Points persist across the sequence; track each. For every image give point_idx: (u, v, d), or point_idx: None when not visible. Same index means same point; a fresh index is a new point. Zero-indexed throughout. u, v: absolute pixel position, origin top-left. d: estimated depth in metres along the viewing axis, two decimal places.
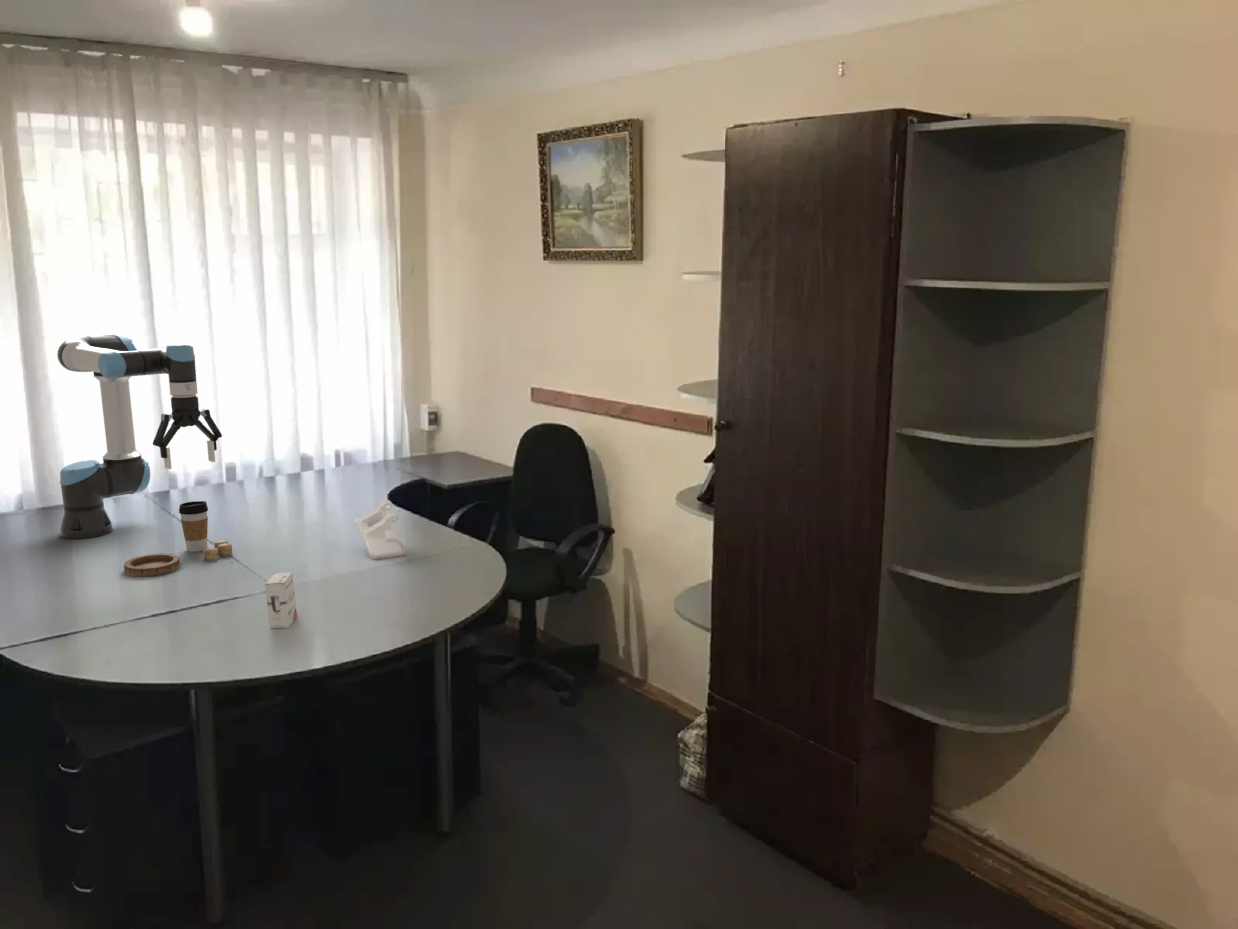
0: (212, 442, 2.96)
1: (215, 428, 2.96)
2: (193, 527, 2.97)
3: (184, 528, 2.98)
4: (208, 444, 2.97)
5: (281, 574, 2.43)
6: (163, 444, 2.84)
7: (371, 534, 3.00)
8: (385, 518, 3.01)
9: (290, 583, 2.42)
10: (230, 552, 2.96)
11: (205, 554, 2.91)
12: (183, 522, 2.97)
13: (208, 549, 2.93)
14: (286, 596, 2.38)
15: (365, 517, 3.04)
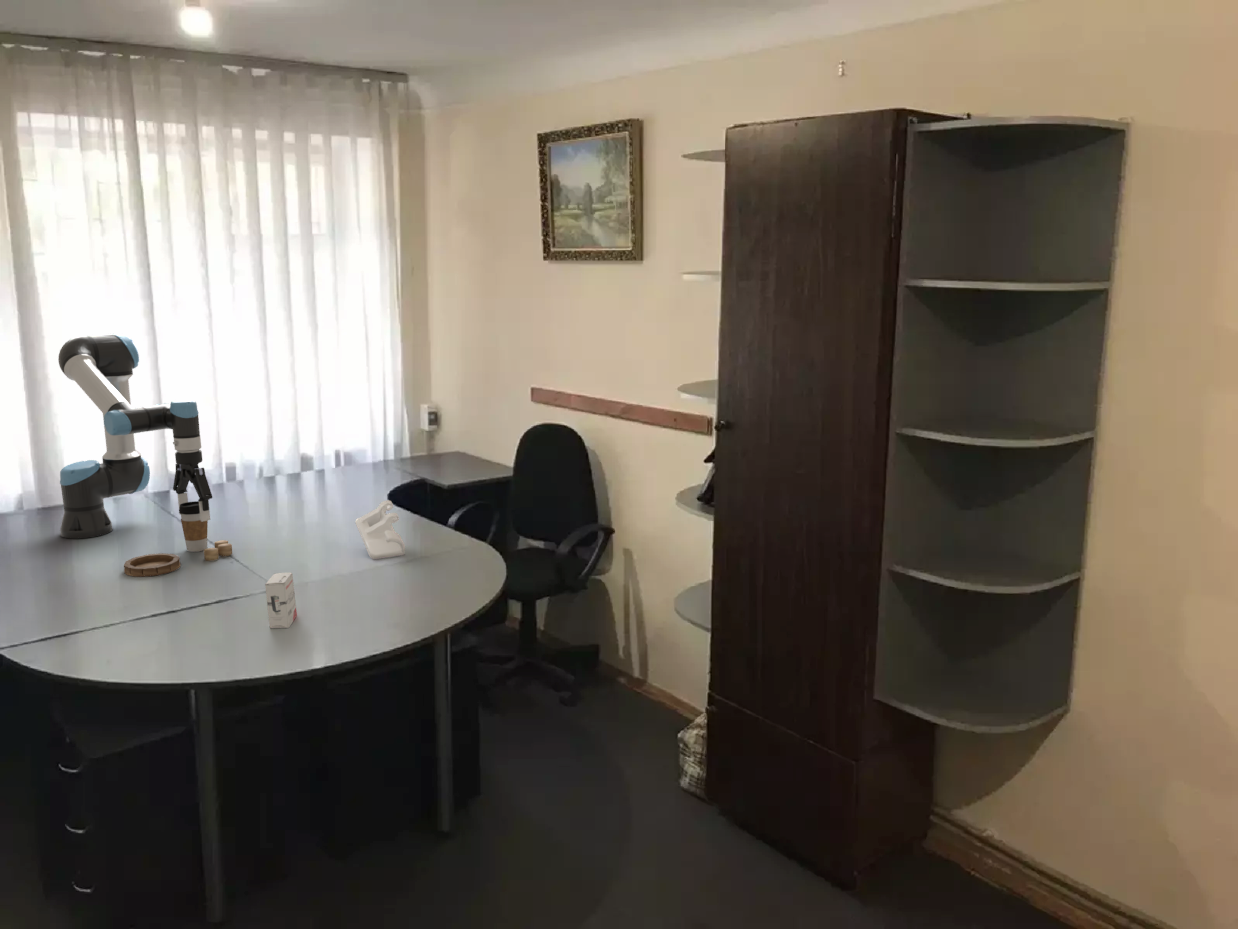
0: (199, 502, 2.94)
1: (200, 489, 2.92)
2: (193, 527, 2.97)
3: (184, 528, 2.98)
4: None
5: (281, 574, 2.43)
6: None
7: (371, 534, 3.00)
8: (385, 518, 3.01)
9: (290, 583, 2.42)
10: (230, 552, 2.96)
11: (205, 554, 2.91)
12: (183, 522, 2.97)
13: (208, 549, 2.93)
14: (287, 596, 2.38)
15: (365, 517, 3.04)
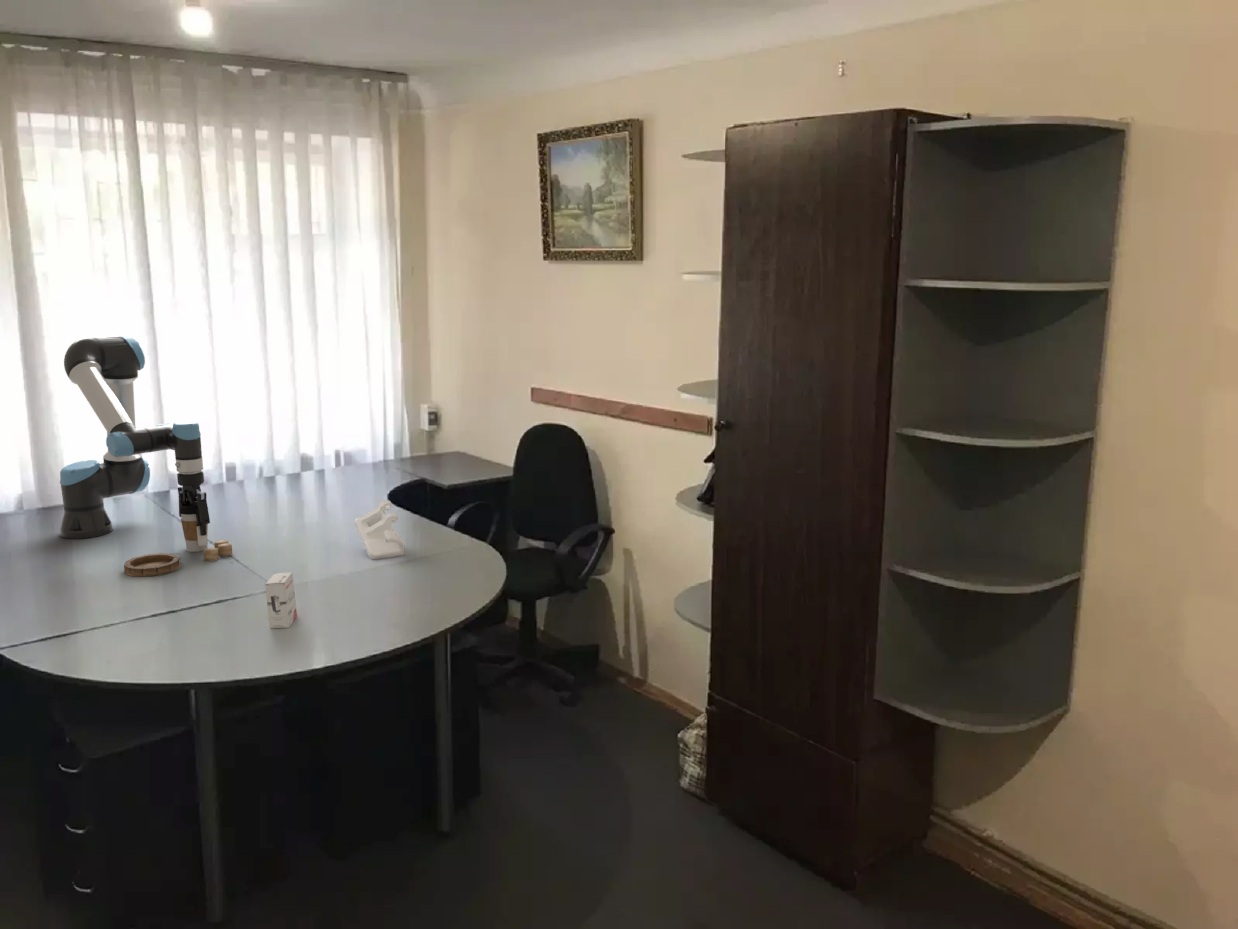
0: (197, 526, 2.97)
1: (199, 514, 2.95)
2: (193, 527, 2.97)
3: (184, 528, 2.98)
4: None
5: (281, 574, 2.43)
6: None
7: (371, 534, 3.00)
8: (385, 518, 3.01)
9: (290, 583, 2.42)
10: (230, 552, 2.96)
11: (205, 554, 2.91)
12: (183, 522, 2.97)
13: (208, 549, 2.93)
14: (287, 596, 2.38)
15: (365, 517, 3.04)
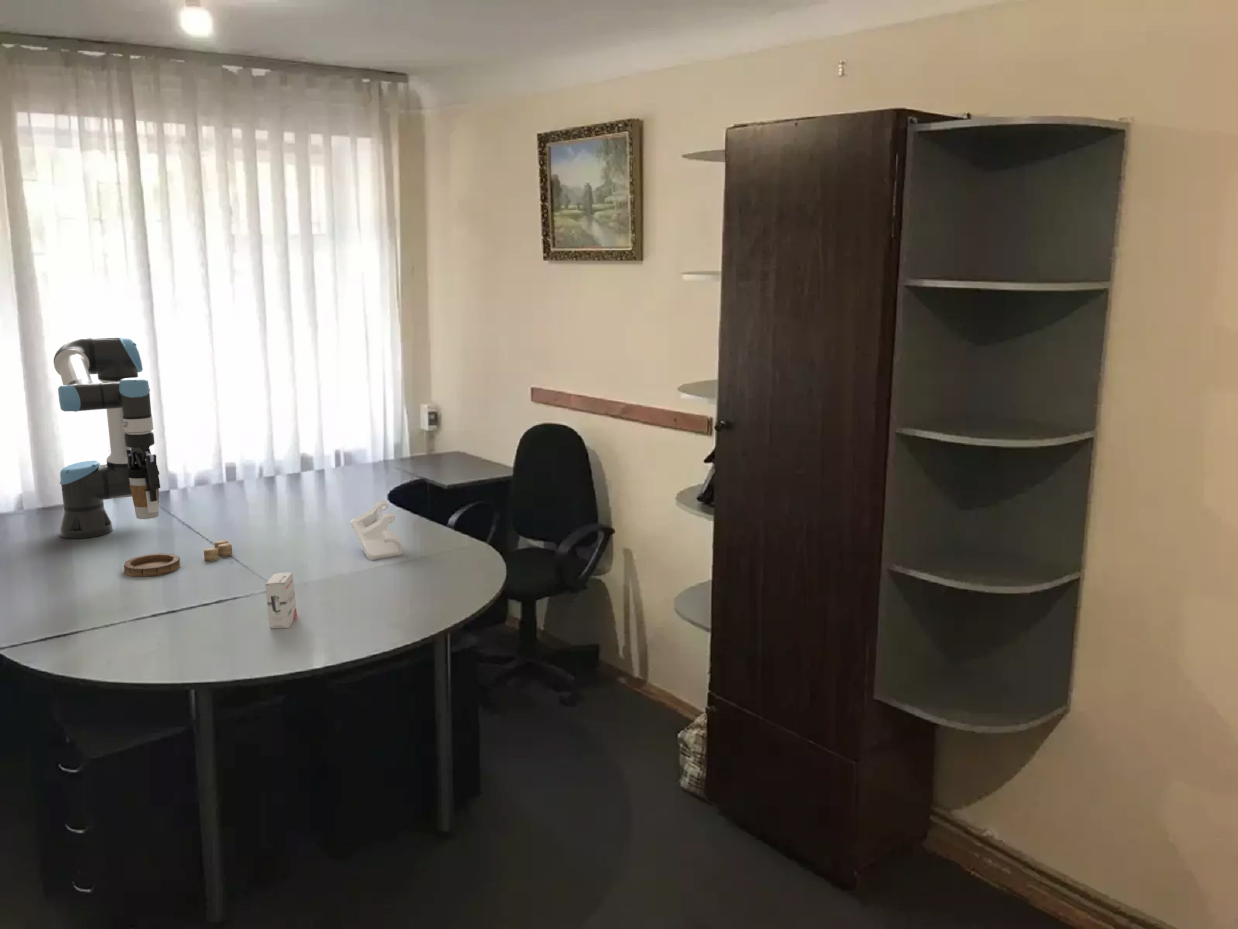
0: (146, 492, 2.75)
1: (149, 478, 2.72)
2: (142, 492, 2.75)
3: (133, 493, 2.75)
4: None
5: (281, 574, 2.43)
6: None
7: (367, 535, 3.00)
8: (381, 518, 3.00)
9: (290, 583, 2.42)
10: (230, 552, 2.96)
11: (205, 554, 2.91)
12: (132, 486, 2.75)
13: (208, 549, 2.93)
14: (287, 596, 2.38)
15: (361, 518, 3.03)
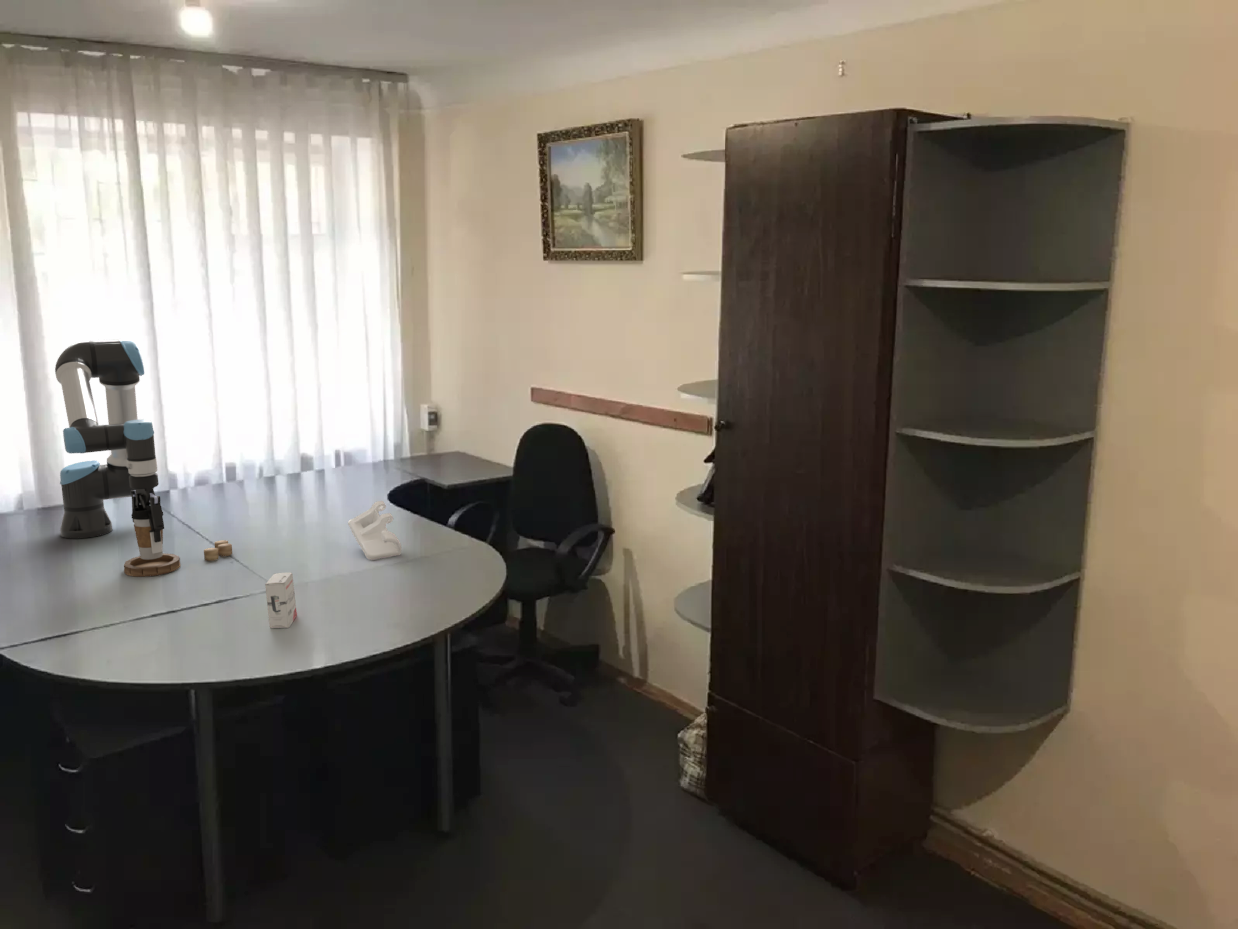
0: (150, 533, 2.77)
1: (153, 519, 2.75)
2: (146, 533, 2.77)
3: (137, 534, 2.78)
4: None
5: (281, 574, 2.43)
6: None
7: (366, 535, 2.99)
8: (380, 519, 3.00)
9: (290, 583, 2.42)
10: (230, 552, 2.96)
11: (205, 554, 2.91)
12: (136, 527, 2.77)
13: (208, 549, 2.93)
14: (287, 596, 2.38)
15: (358, 518, 3.03)
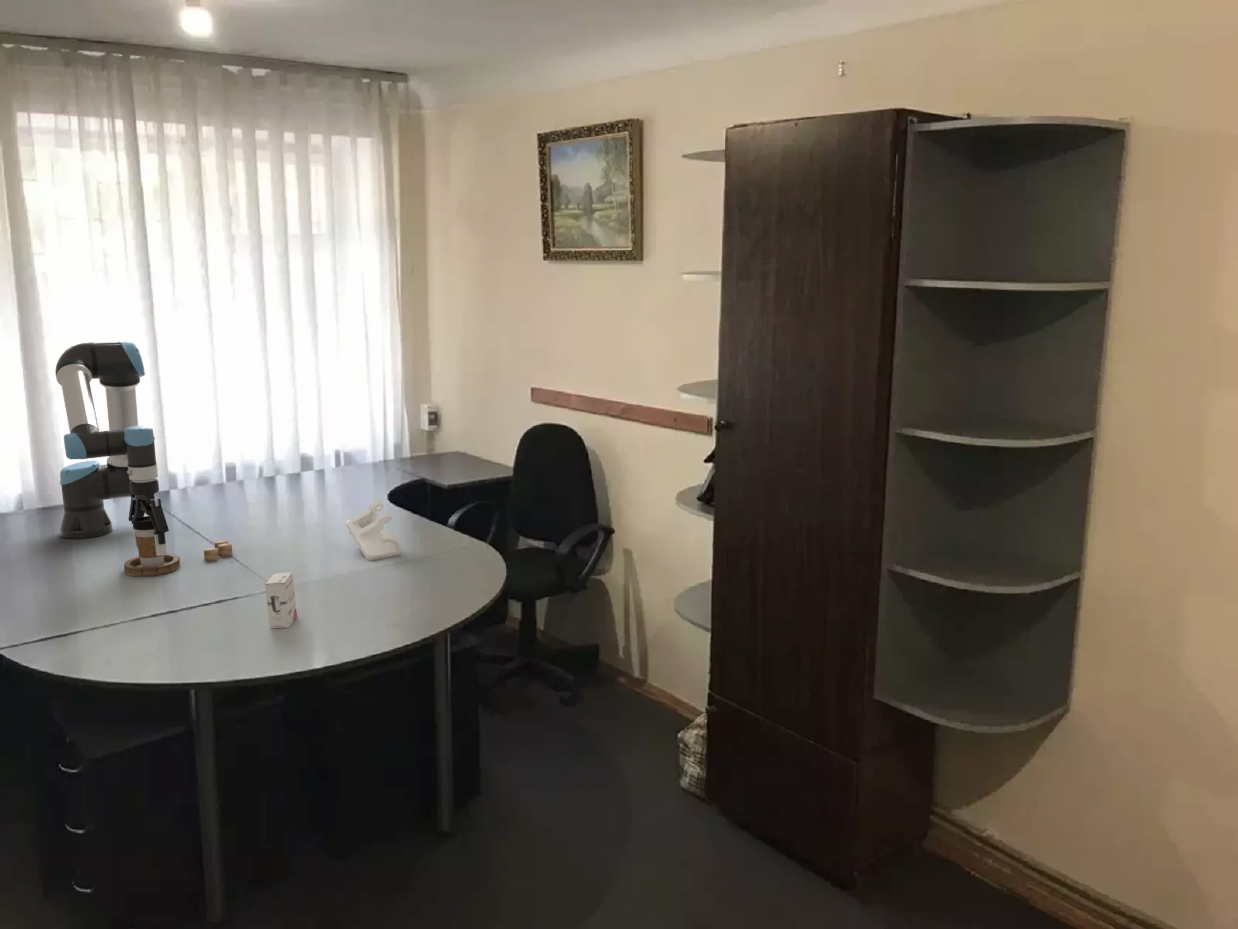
0: (155, 535, 2.76)
1: (156, 522, 2.74)
2: (148, 543, 2.78)
3: (138, 544, 2.79)
4: None
5: (281, 574, 2.43)
6: None
7: (364, 535, 2.99)
8: (378, 519, 3.00)
9: (290, 583, 2.42)
10: (230, 552, 2.96)
11: (205, 554, 2.91)
12: (137, 538, 2.78)
13: (208, 549, 2.93)
14: (287, 596, 2.38)
15: (356, 518, 3.02)
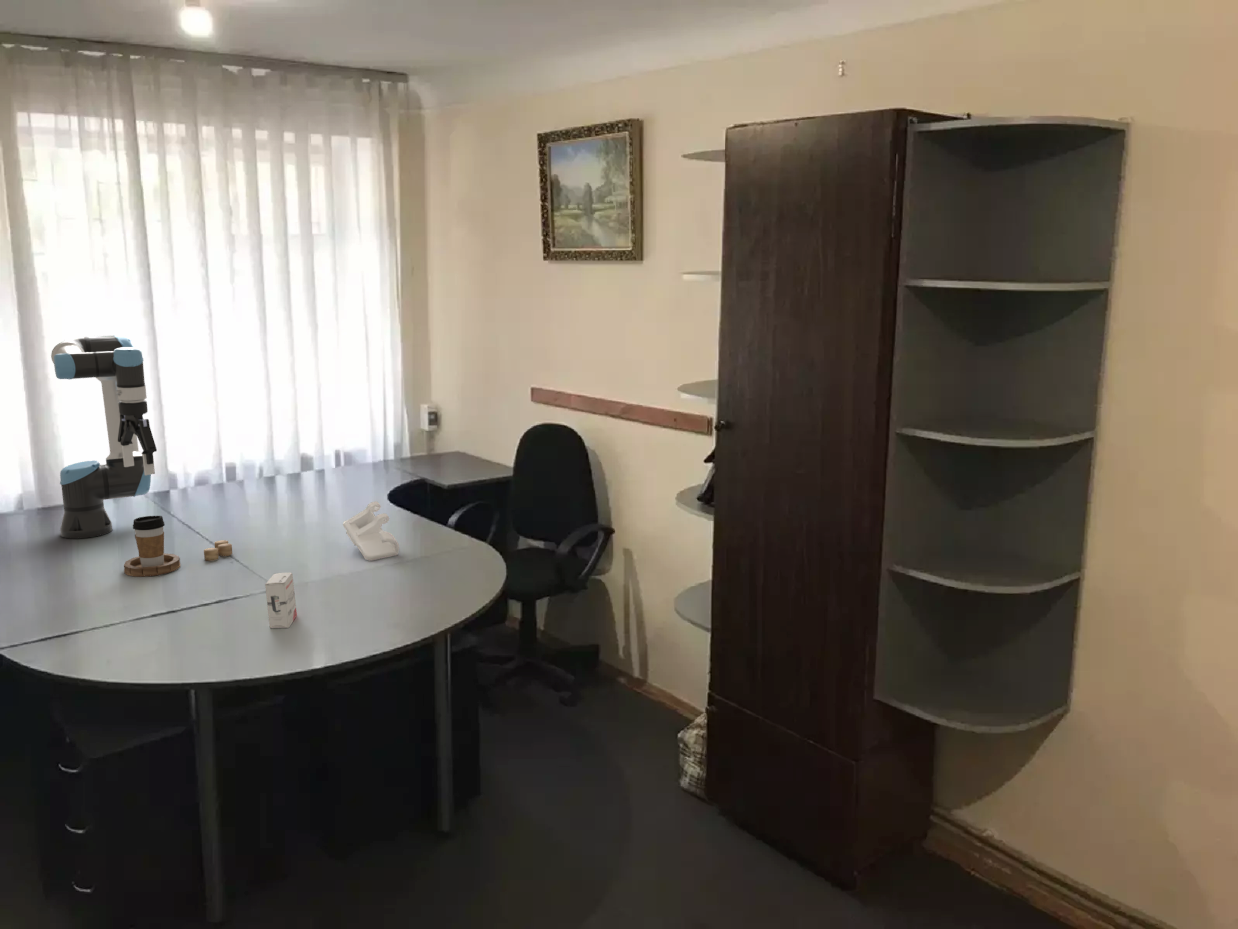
0: (143, 454, 2.81)
1: (144, 441, 2.80)
2: (148, 544, 2.78)
3: (138, 545, 2.79)
4: None
5: (281, 574, 2.43)
6: None
7: (362, 536, 2.98)
8: (376, 519, 2.99)
9: (290, 583, 2.42)
10: (230, 552, 2.96)
11: (205, 554, 2.91)
12: (137, 538, 2.78)
13: (208, 549, 2.93)
14: (287, 596, 2.38)
15: (354, 519, 3.02)
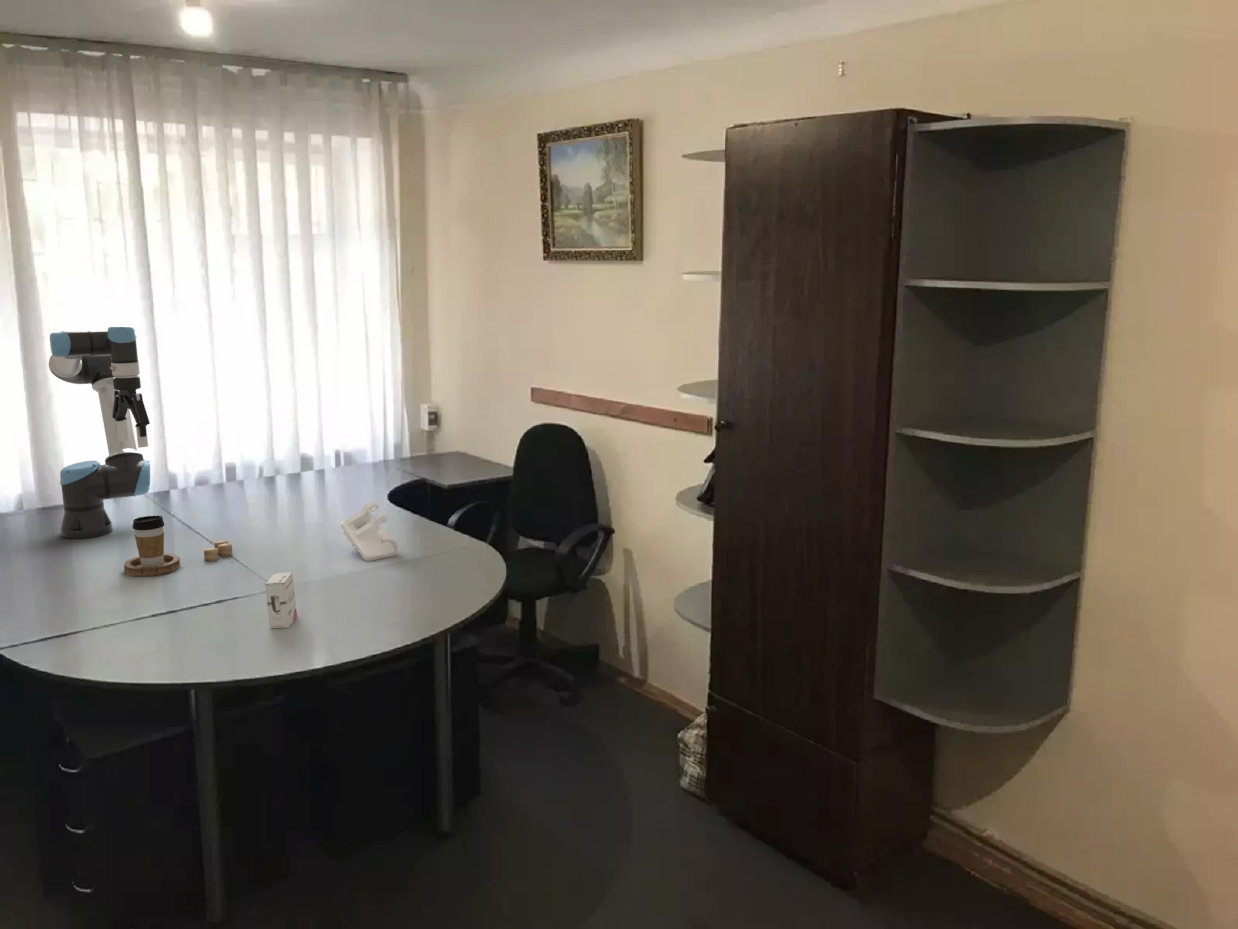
0: (136, 427, 2.93)
1: (137, 414, 2.91)
2: (148, 544, 2.78)
3: (138, 545, 2.79)
4: None
5: (281, 574, 2.43)
6: None
7: (360, 536, 2.98)
8: (374, 519, 2.99)
9: (290, 583, 2.42)
10: (230, 552, 2.97)
11: (205, 554, 2.91)
12: (137, 538, 2.78)
13: (208, 549, 2.93)
14: (287, 596, 2.38)
15: (351, 519, 3.01)
